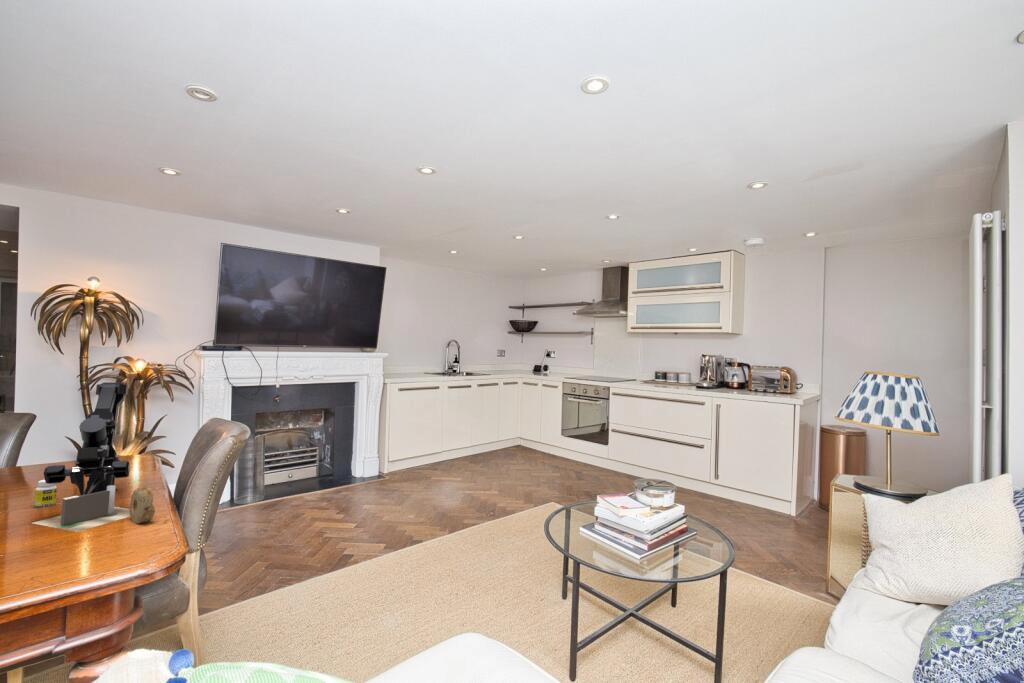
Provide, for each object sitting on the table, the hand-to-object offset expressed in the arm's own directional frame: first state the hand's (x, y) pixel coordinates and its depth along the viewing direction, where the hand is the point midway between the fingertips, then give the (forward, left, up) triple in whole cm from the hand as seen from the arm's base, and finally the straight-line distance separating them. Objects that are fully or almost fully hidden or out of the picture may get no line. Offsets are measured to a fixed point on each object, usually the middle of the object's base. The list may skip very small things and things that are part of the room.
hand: (83, 497), depth 132 cm
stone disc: (-6, +15, -7) cm, 17 cm away
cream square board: (-3, 0, -7) cm, 8 cm away
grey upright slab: (-1, +1, -6) cm, 7 cm away
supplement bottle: (-5, -23, -7) cm, 25 cm away
